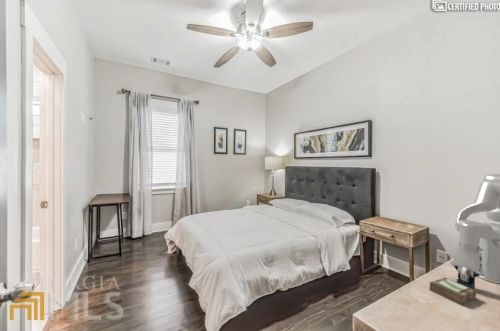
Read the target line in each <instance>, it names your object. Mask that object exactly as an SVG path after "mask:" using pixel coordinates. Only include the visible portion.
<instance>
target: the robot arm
mask: <svg viewBox="0 0 500 331" xmlns="http://www.w3.org/2000/svg"><path fill="white" fill-rule="evenodd" d="M478 213H486V214H485V215H486V218H487V219H488V220H490V221H493V222H478V221H474V220H468V218H469V217H470V216H471V215H475V214H478ZM494 222H497V223H494ZM499 223H500V173H489V174H485V175H484V176H483V181H481V183H480V184H479V187H478V190H477V193H476V195H475V199H474V202H473V203H471V204H469V205H466V206H465V207H463V209H461V210H460V211H459V212H458V214H457V218H456V220H455V223H454V228H455V230H456V231H457V232H459V235H458V237H459V238H458V246H457V247H456V248H455V252H454V254H453V260H452V261H451V262H450V265H451V266H452V267H453V268H454V269H455V270H456V271H457V279H459V280H461V278H460V271H461V268H462V267H465V268H468V269H467V270H469V271H470V275H471V276H470V277H469V284H474V283H476V282H475V280H476V278H480V279H481V280H484V281H487V282H490V283H493V284H494V283H495V284H498V285H500V224H499ZM461 281H462V280H461Z"/></svg>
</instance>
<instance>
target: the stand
mask: <svg viewBox="0 0 500 331" xmlns="http://www.w3.org/2000/svg"><path fill="white" fill-rule="evenodd" d="M429 291H431V292H433V293H434V294H436V295H439V296H441V297H442V298H445V299H447V300H449V301H451V302H454V303H456V304H458V305H460V306H463V305H464V304H466V303H469V302H472V301H474V300H476V296H477V290H476V289H472V288H469V287H467V286H464V285H462V284H460V283H457V281H455V280H452V279H450V278H447V277H443V278H439V279H436V280H433V281H430V282H429Z"/></svg>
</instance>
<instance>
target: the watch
mask: <svg viewBox="0 0 500 331" xmlns="http://www.w3.org/2000/svg"><path fill="white" fill-rule="evenodd" d="M467 269H468V268H465V267H462V268H461V271H460V278H461V280H462V281H461V280H459V278H457V279H456V282H457V283H460V284H462V285H464V286H467V287H469V288H472V289H474V290H476V289H475V288H476V285H475V284H476V282H474V284H469V277H470V276H471V275H470V271H469V270H467Z"/></svg>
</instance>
